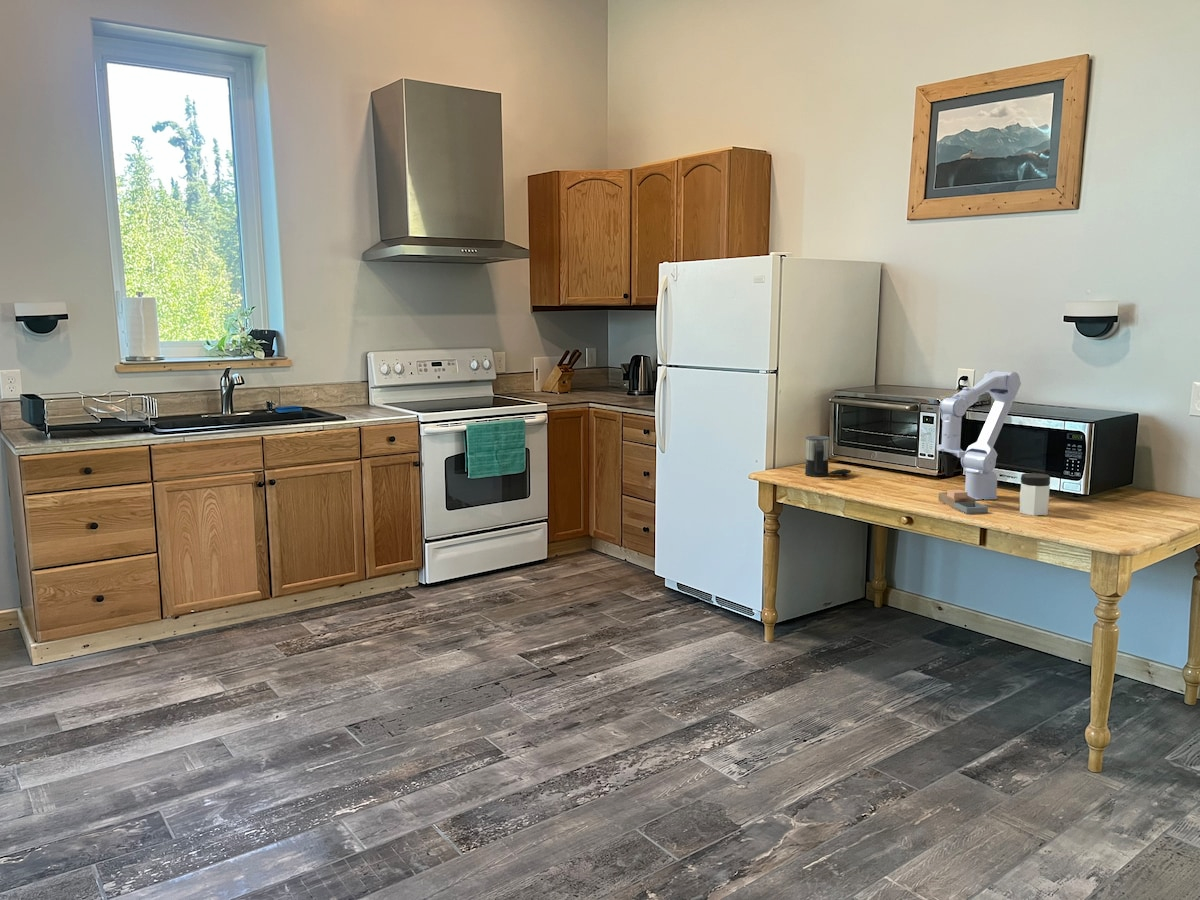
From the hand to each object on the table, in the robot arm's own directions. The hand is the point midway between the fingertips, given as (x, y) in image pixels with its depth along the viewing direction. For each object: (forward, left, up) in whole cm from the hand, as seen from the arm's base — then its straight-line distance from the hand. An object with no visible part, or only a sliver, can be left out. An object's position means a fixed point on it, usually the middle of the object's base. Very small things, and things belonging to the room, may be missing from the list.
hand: (949, 475), depth 285 cm
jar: (-19, +17, -10) cm, 28 cm away
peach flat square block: (-1, +5, -6) cm, 8 cm away
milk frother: (+22, -52, -10) cm, 57 cm away
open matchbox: (-2, +3, -9) cm, 10 cm away
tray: (-2, +12, -9) cm, 15 cm away
